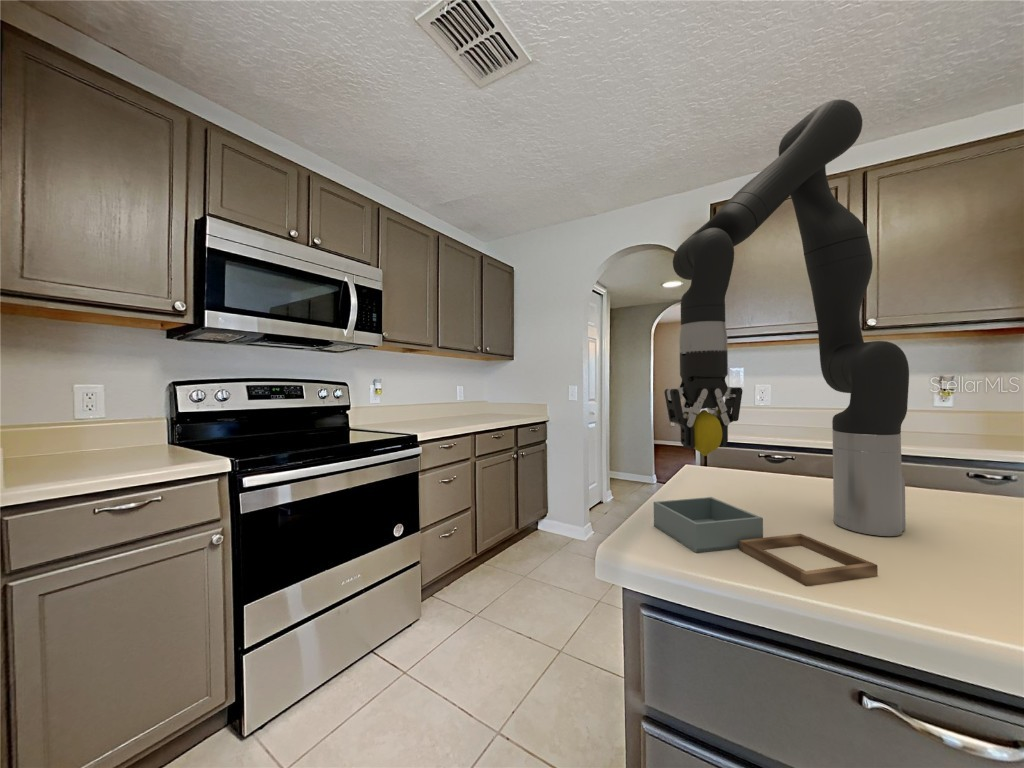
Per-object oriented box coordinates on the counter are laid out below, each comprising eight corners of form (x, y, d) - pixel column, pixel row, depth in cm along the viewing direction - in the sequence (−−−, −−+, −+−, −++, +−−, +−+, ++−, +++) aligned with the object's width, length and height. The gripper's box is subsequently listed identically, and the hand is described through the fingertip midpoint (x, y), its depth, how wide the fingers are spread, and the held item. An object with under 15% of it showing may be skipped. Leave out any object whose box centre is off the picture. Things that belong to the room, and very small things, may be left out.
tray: (800, 542, 66) (800, 533, 66) (877, 575, 55) (877, 564, 55) (739, 549, 64) (739, 540, 64) (806, 585, 52) (806, 574, 52)
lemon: (727, 459, 66) (726, 411, 66) (691, 458, 67) (690, 411, 67) (717, 453, 72) (716, 408, 72) (684, 452, 73) (683, 408, 73)
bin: (711, 520, 77) (711, 496, 77) (763, 545, 65) (762, 517, 65) (653, 525, 75) (653, 501, 75) (696, 553, 63) (696, 524, 63)
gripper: (723, 351, 75) (724, 442, 75) (653, 351, 72) (654, 446, 72) (755, 348, 67) (756, 448, 67) (679, 348, 64) (680, 453, 65)
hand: (704, 447), depth 70 cm, fingers closed on lemon, 5 cm apart
